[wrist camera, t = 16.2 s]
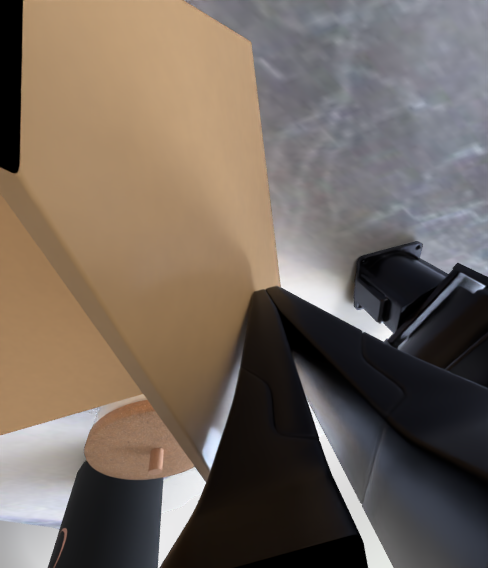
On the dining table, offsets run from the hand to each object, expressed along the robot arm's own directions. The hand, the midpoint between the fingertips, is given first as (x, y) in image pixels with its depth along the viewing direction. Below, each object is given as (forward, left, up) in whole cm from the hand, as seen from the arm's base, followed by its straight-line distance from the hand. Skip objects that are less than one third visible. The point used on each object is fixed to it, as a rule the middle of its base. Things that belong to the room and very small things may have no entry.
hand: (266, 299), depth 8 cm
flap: (+1, 0, 0) cm, 1 cm away
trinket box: (+10, +16, -13) cm, 23 cm away
